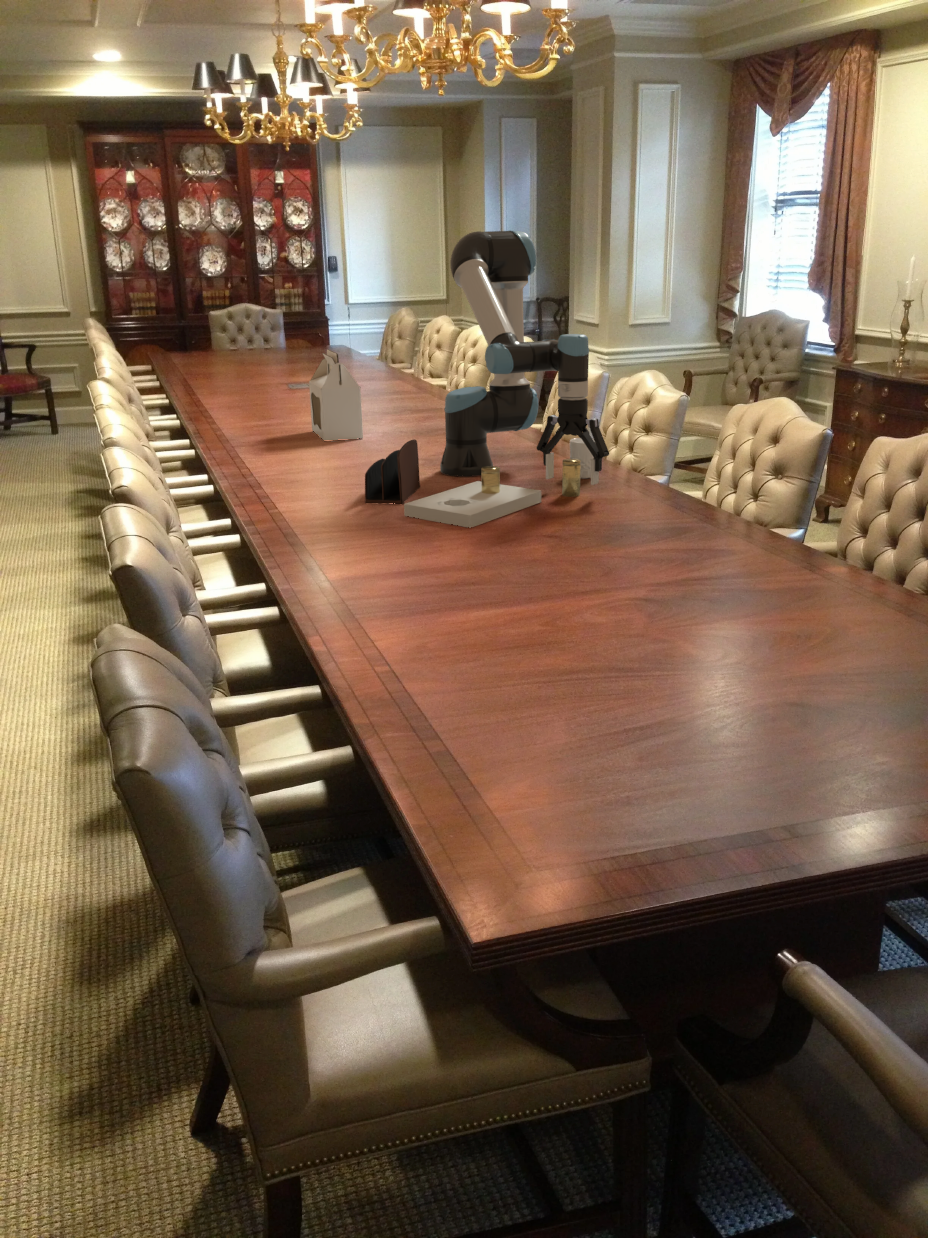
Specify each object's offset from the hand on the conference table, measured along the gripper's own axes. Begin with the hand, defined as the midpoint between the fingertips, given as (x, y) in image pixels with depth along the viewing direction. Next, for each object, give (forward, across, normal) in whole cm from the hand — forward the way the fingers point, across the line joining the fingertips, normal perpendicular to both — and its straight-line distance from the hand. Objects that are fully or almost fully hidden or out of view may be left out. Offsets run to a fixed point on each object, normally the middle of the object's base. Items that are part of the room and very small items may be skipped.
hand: (571, 481), depth 274 cm
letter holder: (+4, -39, -26) cm, 47 cm away
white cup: (+4, -9, +21) cm, 23 cm away
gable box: (+2, -113, +31) cm, 118 cm away
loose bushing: (+4, 0, 0) cm, 4 cm away
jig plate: (+4, -12, -26) cm, 29 cm away
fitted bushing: (+4, -12, -19) cm, 23 cm away
